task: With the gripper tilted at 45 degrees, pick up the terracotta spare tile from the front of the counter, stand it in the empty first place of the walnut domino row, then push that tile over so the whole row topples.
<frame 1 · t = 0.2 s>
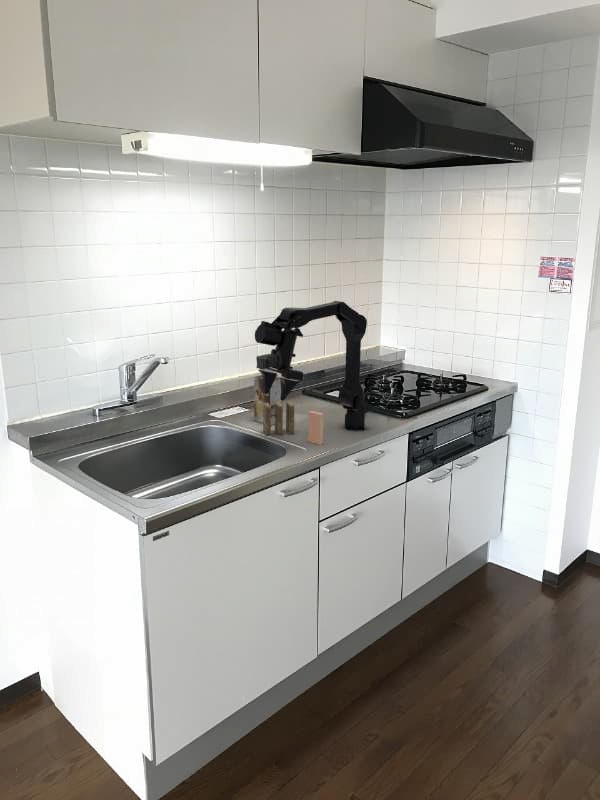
hand: (273, 396, 207), 16 cm above the worktop, tool pointing down, fingers open, 9 cm apart
coffee box: (268, 421, 235), on the worktop
walnut tile 3: (278, 432, 223), on the worktop
walnut tile 4: (266, 433, 222), on the worktop
spare tile: (315, 442, 213), on the worktop
walnut tile 2: (289, 431, 224), on the worktop
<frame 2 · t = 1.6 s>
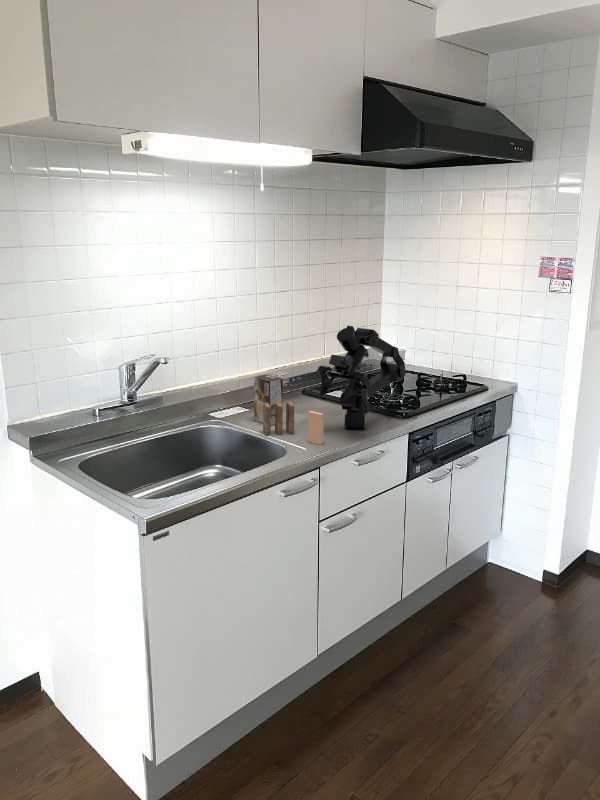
hand: (331, 397, 216), 13 cm above the worktop, tool tilted 45°, fingers open, 9 cm apart
nothing on the worktop moved.
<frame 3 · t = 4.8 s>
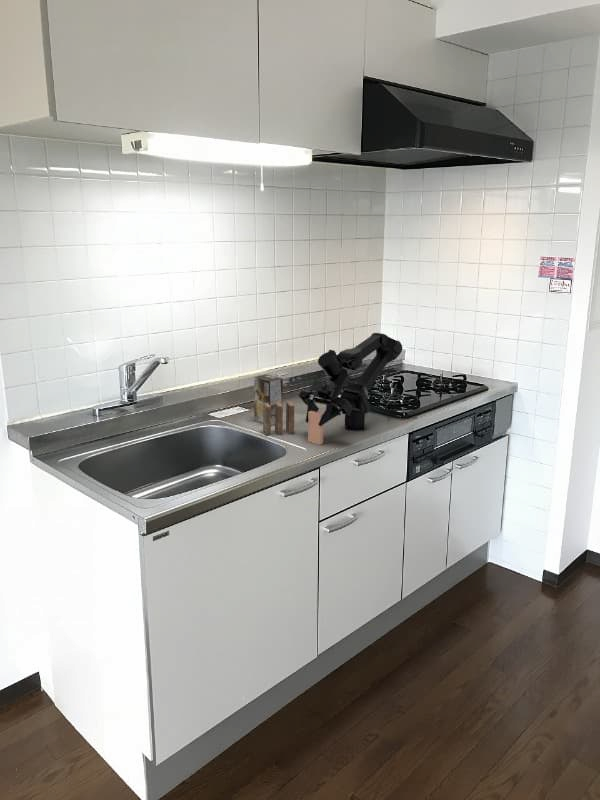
hand: (313, 423, 211), 7 cm above the worktop, tool tilted 45°, fingers closed on spare tile, 5 cm apart
spare tile: (315, 442, 213), on the worktop, touching gripper
everything else where it was.
when the fingers open (8 cm above the worktop, at t = 9.8 s): spare tile stays where it is, on the worktop.
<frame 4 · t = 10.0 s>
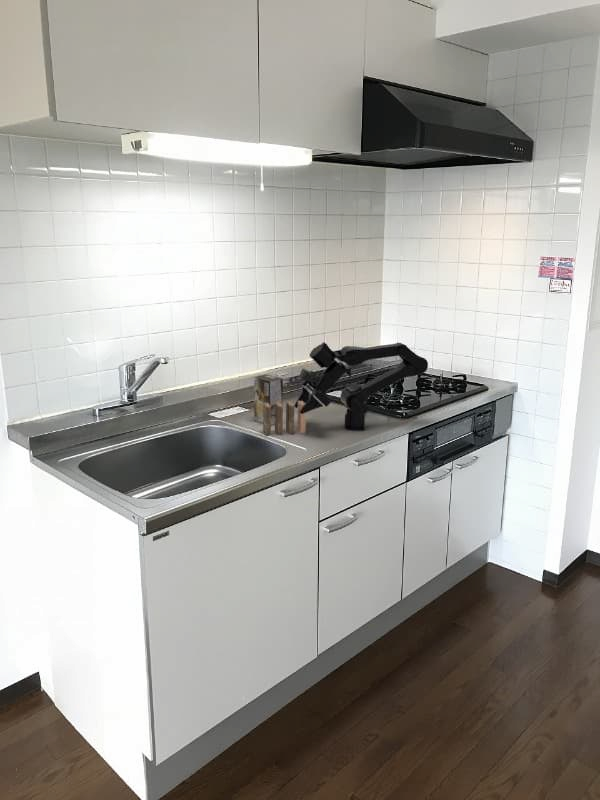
hand: (297, 410, 222), 8 cm above the worktop, tool tilted 45°, fingers open, 7 cm apart
spare tile: (301, 431, 225), on the worktop
everything else where it was.
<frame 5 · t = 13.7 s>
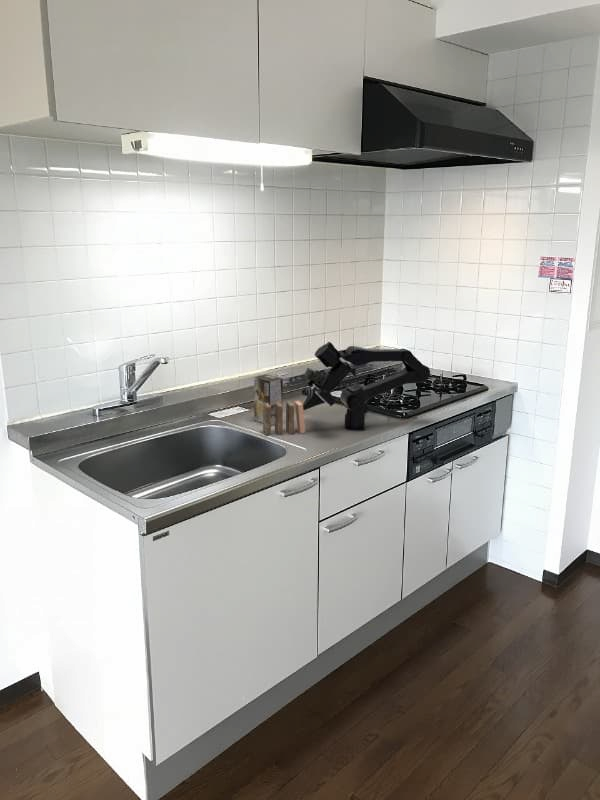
hand: (302, 409, 223), 8 cm above the worktop, tool tilted 45°, fingers closed
spare tile: (301, 430, 225), on the worktop, tilted 6°, touching gripper
everything else where it was.
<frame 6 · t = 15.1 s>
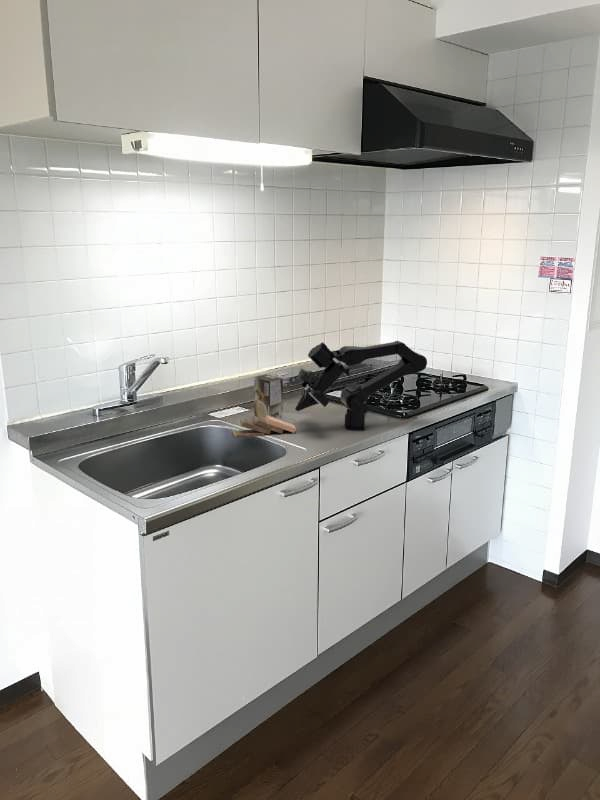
hand: (296, 410, 222), 8 cm above the worktop, tool tilted 45°, fingers closed
walnut tile 3: (269, 430, 222), point 1 cm above the worktop, tilted 71°, touching walnut tile 2
walnut tile 4: (263, 433, 222), on the worktop, tilted 90°
spare tile: (293, 428, 224), point 1 cm above the worktop, tilted 67°
walnut tile 2: (281, 429, 223), point 1 cm above the worktop, tilted 67°, touching walnut tile 3
everything else where it was.
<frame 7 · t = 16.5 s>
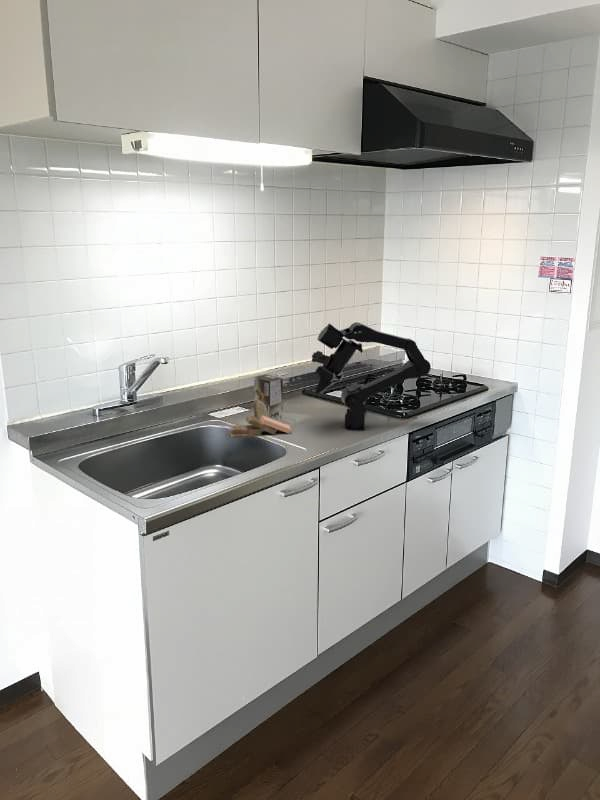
hand: (316, 393, 225), 12 cm above the worktop, tool tilted 35°, fingers closed
walnut tile 3: (260, 429, 221), point 1 cm above the worktop, tilted 90°, touching walnut tile 2, walnut tile 4
walnut tile 4: (259, 433, 222), on the worktop, tilted 90°, touching walnut tile 3
spare tile: (288, 429, 224), point 1 cm above the worktop, tilted 67°
walnut tile 2: (274, 430, 223), point 1 cm above the worktop, tilted 63°, touching walnut tile 3
everything else where it was.
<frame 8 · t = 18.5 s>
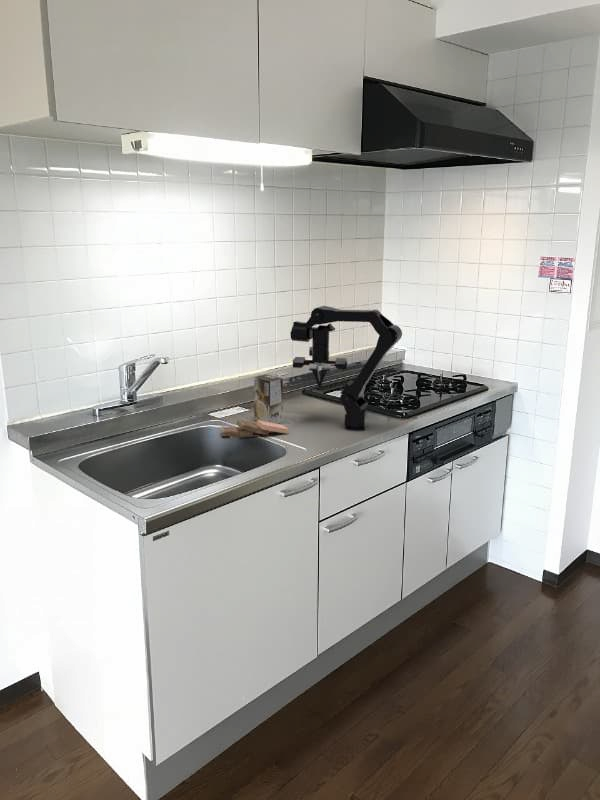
hand: (319, 387, 231), 13 cm above the worktop, tool pointing down, fingers closed
walnut tile 3: (251, 431, 220), point 1 cm above the worktop, tilted 89°, touching walnut tile 2
walnut tile 4: (258, 434, 221), on the worktop, tilted 91°
spare tile: (285, 429, 224), point 1 cm above the worktop, tilted 73°
walnut tile 2: (265, 430, 221), point 1 cm above the worktop, tilted 69°, touching walnut tile 3
everything else where it was.
at the end: walnut tile 4 tilted 90°; spare tile tilted 72°; spare tile inside the target area (4.9 cm from its centre), point 0.8 cm above the worktop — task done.
